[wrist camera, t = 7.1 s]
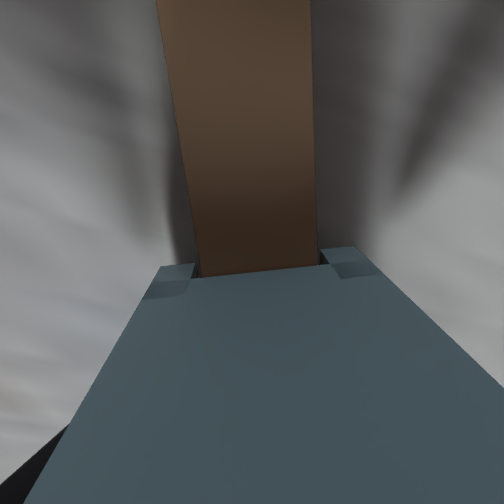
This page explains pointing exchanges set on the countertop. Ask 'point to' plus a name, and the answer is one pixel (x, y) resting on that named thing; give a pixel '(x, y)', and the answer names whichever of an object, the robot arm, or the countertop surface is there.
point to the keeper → (282, 398)
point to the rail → (245, 129)
